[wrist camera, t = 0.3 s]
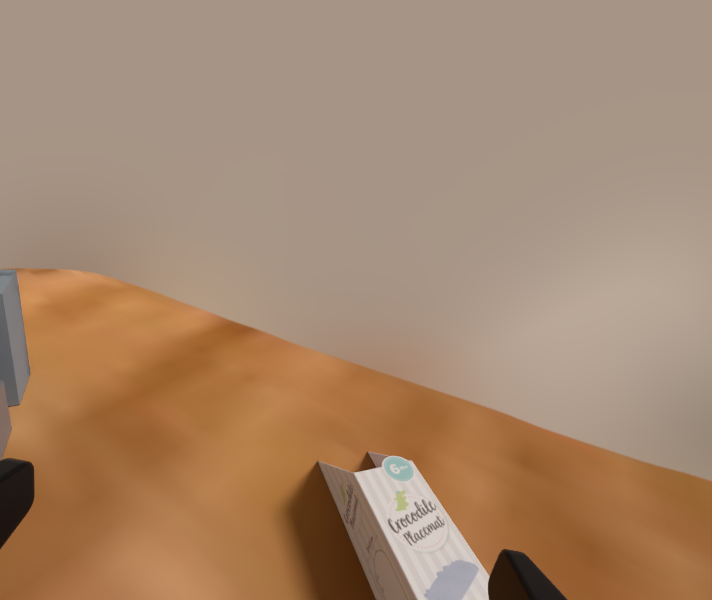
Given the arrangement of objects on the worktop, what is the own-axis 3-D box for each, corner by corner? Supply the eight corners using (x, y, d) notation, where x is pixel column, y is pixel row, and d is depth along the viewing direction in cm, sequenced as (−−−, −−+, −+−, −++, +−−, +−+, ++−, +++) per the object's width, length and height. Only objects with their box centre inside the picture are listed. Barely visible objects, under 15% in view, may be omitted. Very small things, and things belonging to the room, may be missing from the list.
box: (657, 1285, 9) (306, 441, 32) (737, 1114, 11) (354, 433, 34) (771, 1305, 8) (316, 398, 30) (841, 1100, 10) (365, 392, 32)
